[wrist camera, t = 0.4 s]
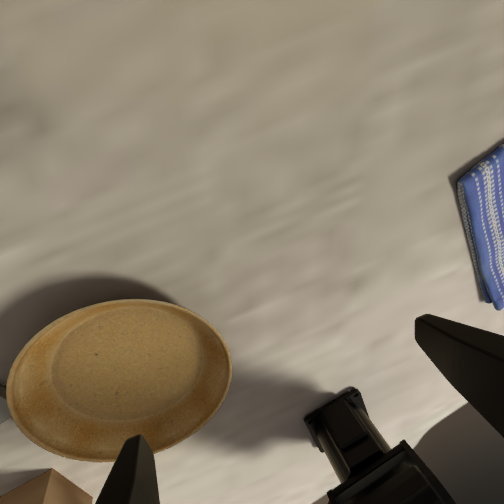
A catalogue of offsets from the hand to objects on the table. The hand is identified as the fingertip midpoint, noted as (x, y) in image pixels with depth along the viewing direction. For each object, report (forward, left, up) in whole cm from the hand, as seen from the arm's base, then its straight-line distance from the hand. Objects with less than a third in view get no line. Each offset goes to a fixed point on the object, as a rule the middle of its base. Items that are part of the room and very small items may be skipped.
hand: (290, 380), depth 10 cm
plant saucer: (-7, +10, -15) cm, 19 cm away
